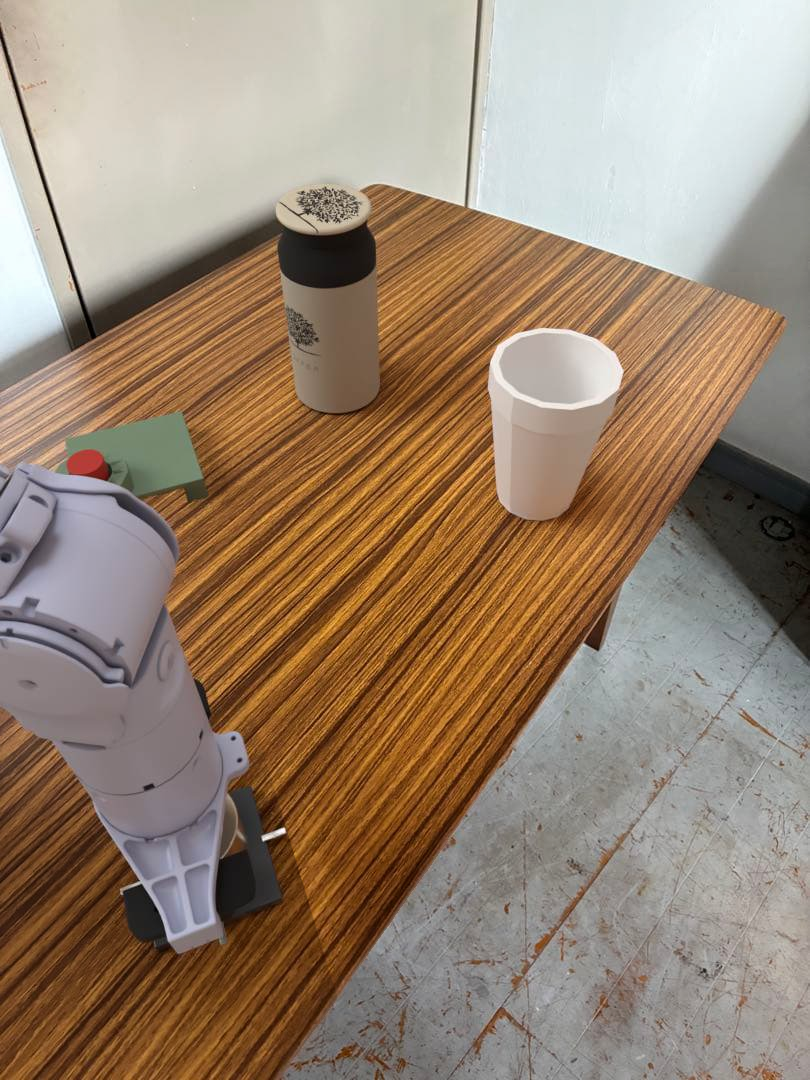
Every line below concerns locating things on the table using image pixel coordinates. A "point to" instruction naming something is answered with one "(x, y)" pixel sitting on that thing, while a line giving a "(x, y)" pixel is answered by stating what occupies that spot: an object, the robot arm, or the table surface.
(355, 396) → the travel mug
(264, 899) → the metal dial knob base
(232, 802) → the metal dial knob
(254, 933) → the table surface
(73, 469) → the red button
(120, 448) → the button block
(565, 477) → the foam cup
